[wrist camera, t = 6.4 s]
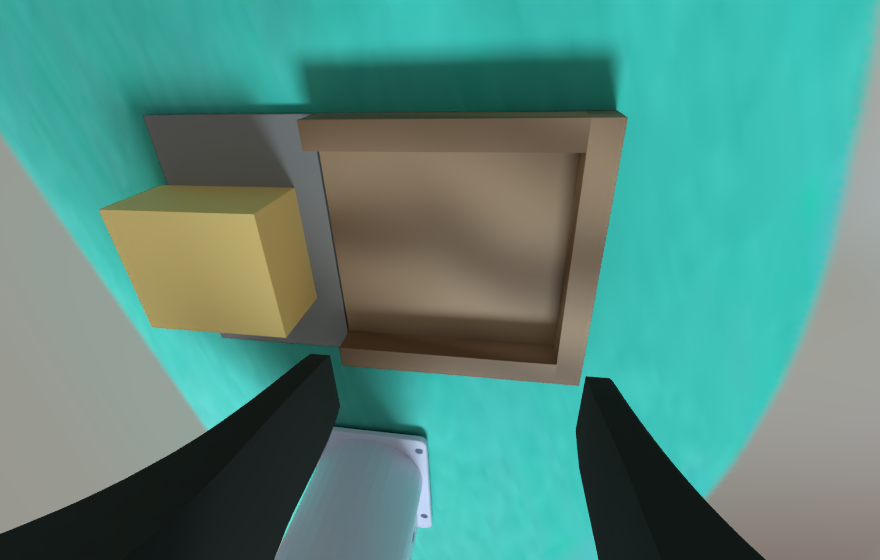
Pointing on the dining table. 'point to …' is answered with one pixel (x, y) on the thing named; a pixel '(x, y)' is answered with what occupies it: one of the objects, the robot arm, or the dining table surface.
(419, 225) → the brown wooden tray
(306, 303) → the block
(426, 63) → the dining table surface
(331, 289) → the mat
